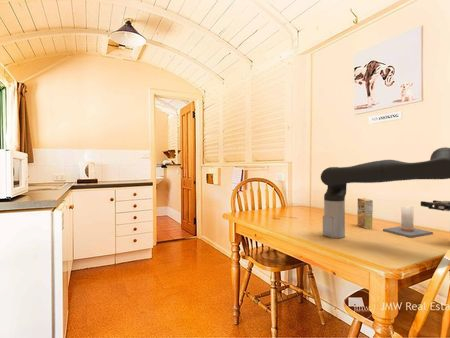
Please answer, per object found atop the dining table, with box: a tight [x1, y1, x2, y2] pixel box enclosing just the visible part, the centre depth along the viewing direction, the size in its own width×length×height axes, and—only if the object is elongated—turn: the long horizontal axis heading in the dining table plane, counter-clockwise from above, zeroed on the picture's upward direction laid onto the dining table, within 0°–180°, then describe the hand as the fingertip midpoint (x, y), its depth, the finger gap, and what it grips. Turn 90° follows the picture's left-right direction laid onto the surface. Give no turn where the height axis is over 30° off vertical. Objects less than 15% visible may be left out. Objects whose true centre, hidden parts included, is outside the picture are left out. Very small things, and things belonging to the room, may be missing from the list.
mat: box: [382, 225, 434, 239], centre depth 132 cm, size 16×14×1 cm
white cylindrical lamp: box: [400, 205, 415, 232], centre depth 132 cm, size 5×5×12 cm
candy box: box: [356, 197, 374, 230], centre depth 145 cm, size 9×4×15 cm, turn 0°
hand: (427, 203), depth 122 cm, fingers open, 8 cm apart
